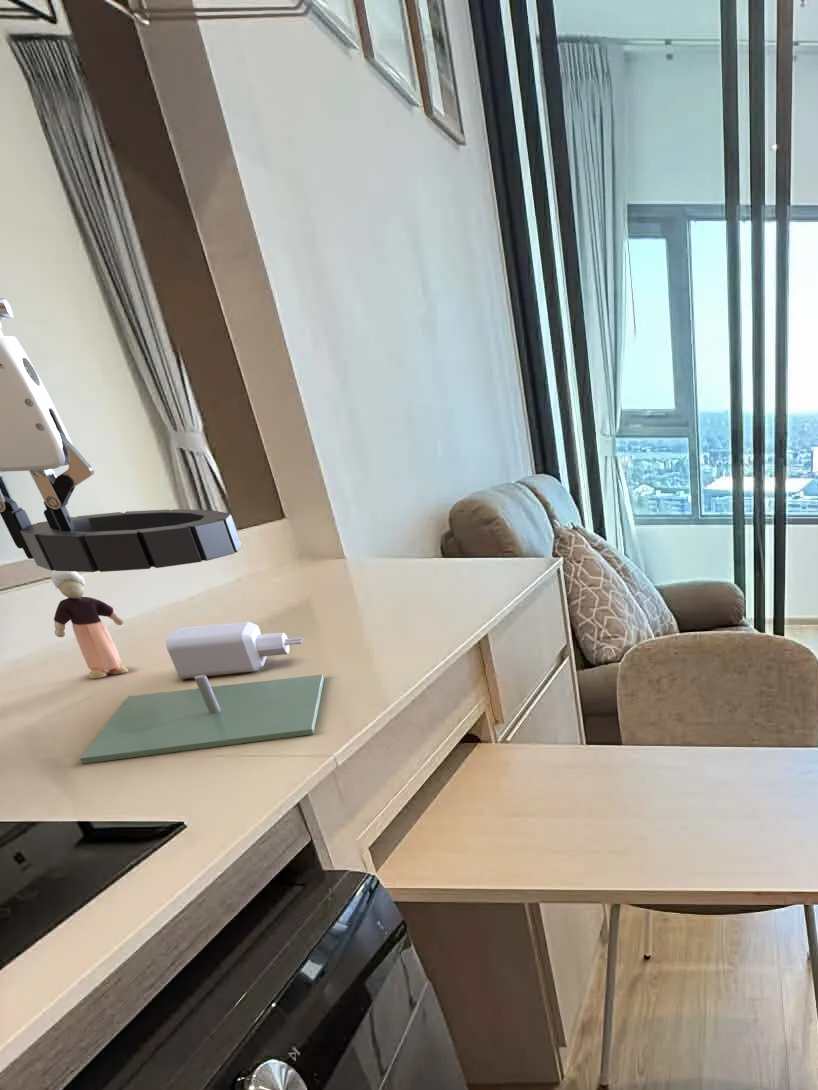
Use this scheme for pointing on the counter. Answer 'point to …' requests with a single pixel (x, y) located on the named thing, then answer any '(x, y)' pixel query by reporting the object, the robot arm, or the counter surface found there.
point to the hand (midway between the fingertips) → (53, 553)
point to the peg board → (209, 717)
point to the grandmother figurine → (87, 624)
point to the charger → (224, 649)
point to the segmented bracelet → (133, 540)
